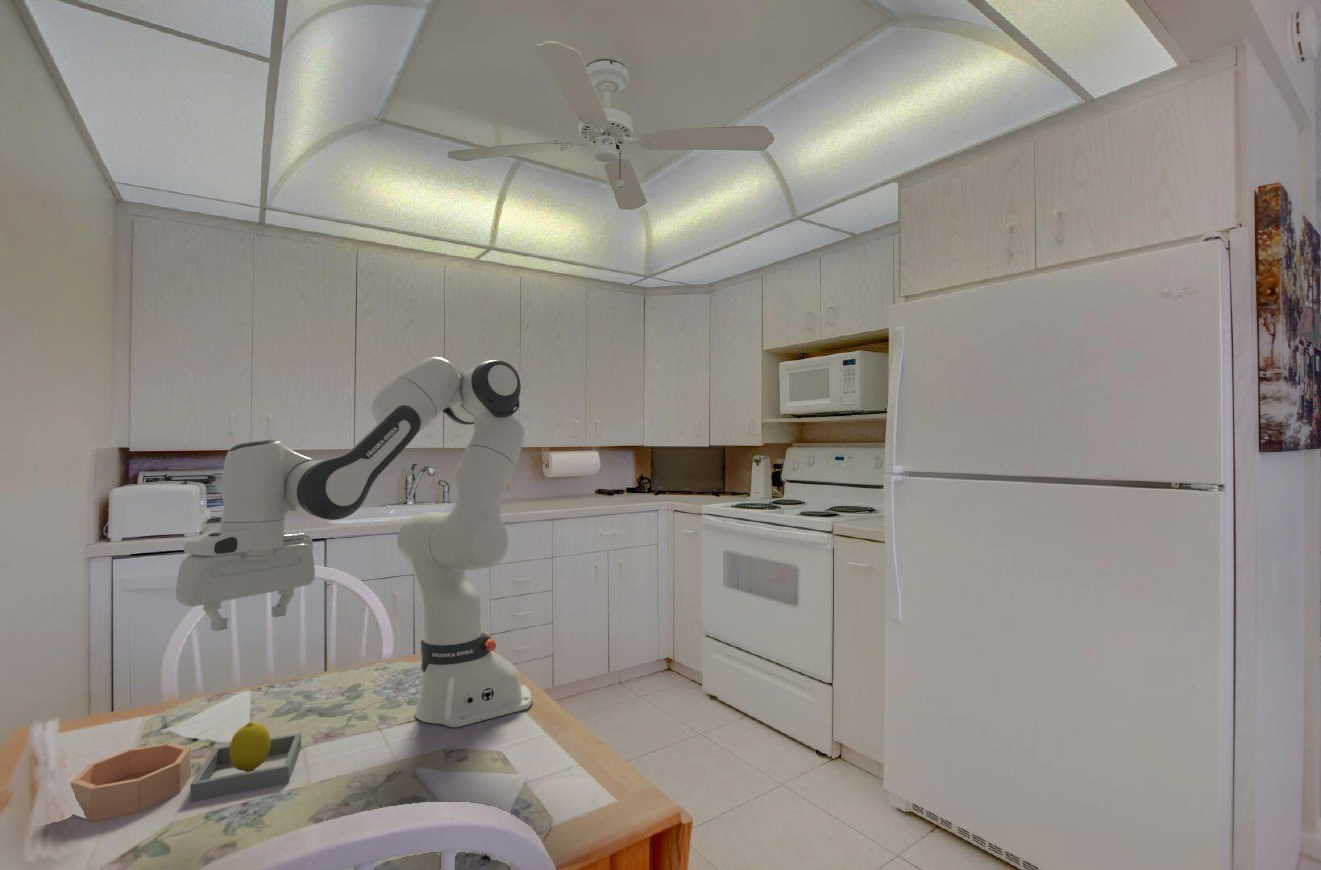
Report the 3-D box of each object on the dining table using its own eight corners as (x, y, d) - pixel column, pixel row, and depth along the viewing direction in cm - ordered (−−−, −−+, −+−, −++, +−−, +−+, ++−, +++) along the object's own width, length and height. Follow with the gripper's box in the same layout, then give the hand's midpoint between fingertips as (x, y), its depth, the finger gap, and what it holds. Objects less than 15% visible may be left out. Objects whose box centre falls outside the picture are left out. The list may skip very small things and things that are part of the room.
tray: (301, 747, 107) (301, 732, 107) (288, 782, 95) (288, 766, 95) (214, 762, 102) (214, 747, 102) (190, 801, 90) (190, 784, 91)
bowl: (197, 765, 101) (197, 737, 101) (170, 805, 89) (171, 774, 90) (99, 782, 96) (99, 753, 96) (56, 828, 84) (57, 794, 85)
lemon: (250, 783, 95) (250, 731, 96) (220, 779, 97) (220, 728, 97) (278, 765, 101) (278, 716, 101) (250, 762, 102) (250, 713, 102)
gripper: (301, 530, 112) (299, 607, 111) (172, 544, 93) (168, 635, 93) (323, 532, 109) (322, 610, 108) (195, 546, 91) (192, 640, 90)
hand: (250, 622), depth 100 cm, fingers open, 8 cm apart
